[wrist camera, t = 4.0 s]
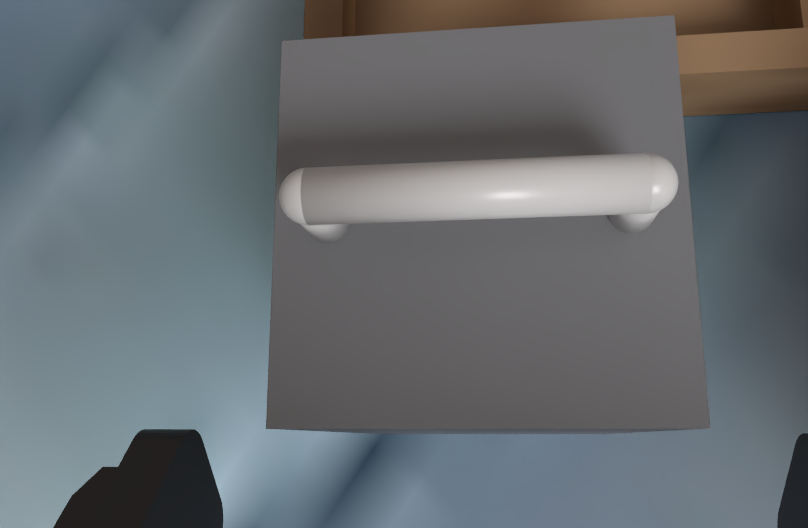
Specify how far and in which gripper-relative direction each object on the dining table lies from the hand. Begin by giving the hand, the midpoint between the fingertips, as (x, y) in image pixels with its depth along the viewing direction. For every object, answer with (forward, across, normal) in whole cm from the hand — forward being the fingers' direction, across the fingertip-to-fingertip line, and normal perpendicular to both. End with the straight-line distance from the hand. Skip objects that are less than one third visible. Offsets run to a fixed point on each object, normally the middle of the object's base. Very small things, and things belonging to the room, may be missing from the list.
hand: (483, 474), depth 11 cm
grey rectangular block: (+9, 0, +4) cm, 9 cm away
